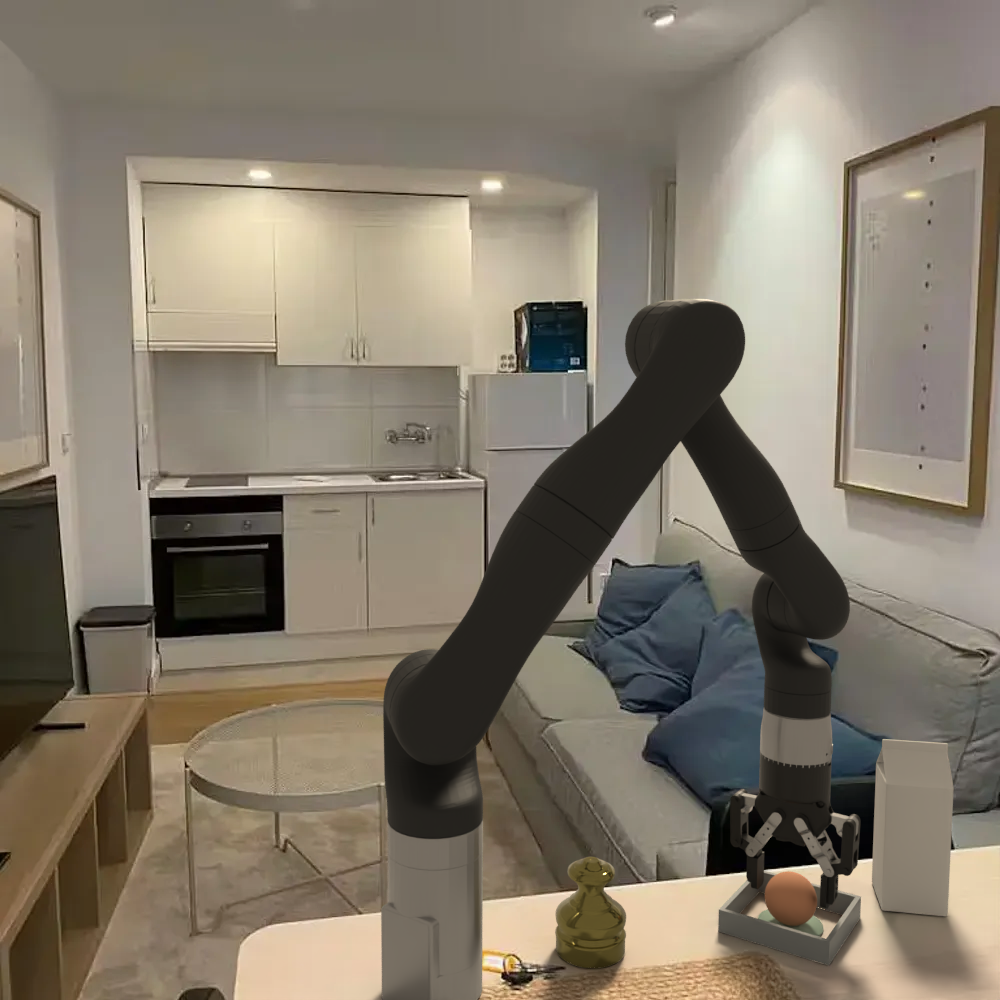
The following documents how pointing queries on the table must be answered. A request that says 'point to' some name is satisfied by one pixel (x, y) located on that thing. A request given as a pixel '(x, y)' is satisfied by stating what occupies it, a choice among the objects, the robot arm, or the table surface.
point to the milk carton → (912, 827)
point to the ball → (790, 898)
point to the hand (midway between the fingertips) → (791, 895)
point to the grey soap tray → (787, 937)
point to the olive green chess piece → (590, 918)
